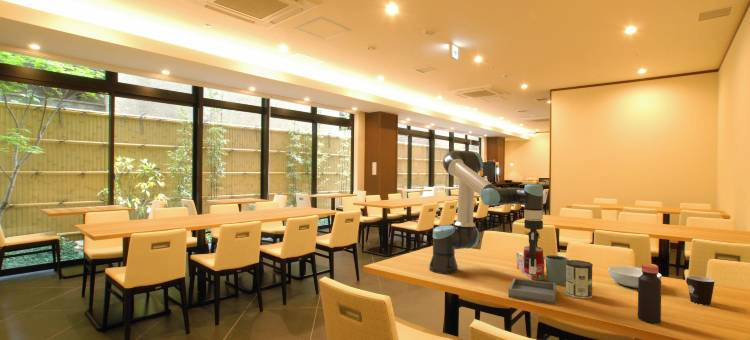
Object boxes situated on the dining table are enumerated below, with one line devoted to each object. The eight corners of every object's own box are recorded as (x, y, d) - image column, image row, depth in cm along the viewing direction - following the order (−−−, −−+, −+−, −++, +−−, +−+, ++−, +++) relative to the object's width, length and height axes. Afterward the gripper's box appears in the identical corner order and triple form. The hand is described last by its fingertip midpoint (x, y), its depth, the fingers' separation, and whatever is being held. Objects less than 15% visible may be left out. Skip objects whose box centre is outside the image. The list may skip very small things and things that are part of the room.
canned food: (544, 272, 164) (544, 247, 164) (541, 276, 157) (541, 250, 157) (525, 269, 168) (525, 245, 168) (522, 273, 161) (522, 248, 161)
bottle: (641, 322, 133) (641, 267, 133) (635, 315, 140) (636, 262, 140) (663, 325, 131) (664, 269, 131) (656, 318, 137) (657, 264, 137)
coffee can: (580, 290, 168) (581, 259, 168) (598, 298, 158) (598, 265, 158) (560, 291, 166) (560, 260, 166) (576, 299, 156) (576, 266, 156)
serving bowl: (663, 285, 177) (664, 271, 177) (658, 296, 161) (658, 280, 161) (613, 276, 191) (613, 263, 191) (603, 285, 176) (603, 271, 176)
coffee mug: (716, 308, 148) (717, 283, 148) (688, 303, 152) (689, 279, 152) (709, 299, 158) (710, 276, 158) (683, 295, 162) (684, 272, 162)
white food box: (516, 268, 205) (516, 246, 204) (527, 268, 204) (528, 246, 204) (531, 280, 183) (531, 255, 183) (544, 280, 183) (544, 255, 183)
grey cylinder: (542, 281, 180) (542, 257, 180) (548, 277, 188) (549, 253, 188) (564, 286, 173) (565, 261, 173) (570, 281, 181) (570, 257, 181)
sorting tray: (508, 296, 158) (508, 288, 158) (513, 285, 174) (513, 277, 174) (555, 304, 150) (555, 295, 150) (555, 291, 166) (556, 283, 166)
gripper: (541, 223, 151) (541, 278, 151) (544, 217, 170) (543, 266, 170) (522, 221, 155) (521, 276, 155) (526, 216, 173) (526, 264, 173)
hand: (533, 271), depth 162 cm, fingers closed on canned food, 8 cm apart
